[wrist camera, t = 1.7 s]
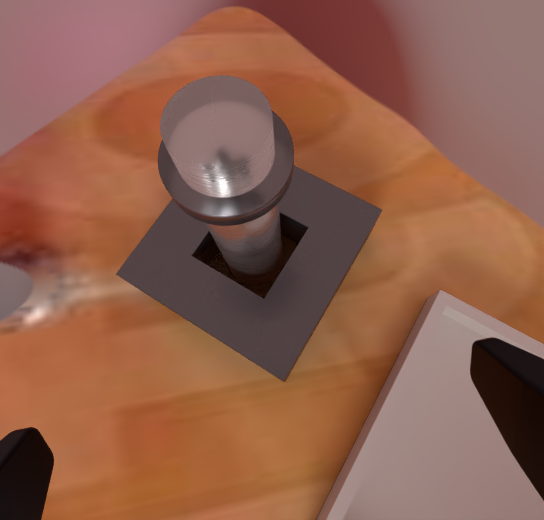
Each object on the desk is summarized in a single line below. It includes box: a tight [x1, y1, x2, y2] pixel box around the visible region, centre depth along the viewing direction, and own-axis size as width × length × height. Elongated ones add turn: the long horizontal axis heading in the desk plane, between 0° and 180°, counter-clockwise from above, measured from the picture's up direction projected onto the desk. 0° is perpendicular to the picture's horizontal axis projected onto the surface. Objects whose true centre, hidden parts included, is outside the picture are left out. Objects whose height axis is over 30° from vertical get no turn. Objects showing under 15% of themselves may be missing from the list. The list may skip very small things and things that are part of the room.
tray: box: [316, 290, 544, 520], centre depth 18 cm, size 14×11×2 cm
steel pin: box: [158, 75, 294, 286], centre depth 17 cm, size 4×4×12 cm
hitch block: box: [116, 166, 382, 382], centre depth 21 cm, size 10×10×3 cm
